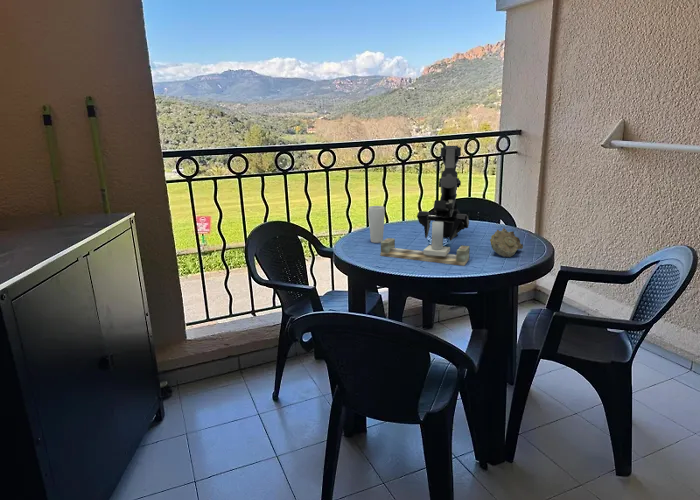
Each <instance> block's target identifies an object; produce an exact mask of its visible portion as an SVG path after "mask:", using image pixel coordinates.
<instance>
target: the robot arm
mask: <svg viewBox="0 0 700 500" xmlns="http://www.w3.org/2000/svg"><path fill="white" fill-rule="evenodd" d="M461 151H462V147H460V146H459V145H443V147H440V157H442V163H443V165H444V170H443V171H442V172H441V175H440V177H439V178H438V179H439V180H438V188H440V194H441V195H440V199H438V200H437V199H436V200H434V201H433V207H432V208H433V210H434V214H435V215H433V214H430V212H429V211H427V210H420V211H418V212H417V215H416V218H417V220H418V223H419V224H420V225H422V227H424V228H423V229H424V238H425V239H427V238H428V237H429V236H428V235H429V233H430V227H431V223H432V222H433V221H442V222H443V238H449V241H452V240H453V239H455V237H458V233H460V232H461V231H462V230H465V229H468V228H469V226H470V219H469V215H468V214H466V213H461V212H460V210H459V209H458V204H457V202H456V199H457V196H458V195H457V190H458V188H460V187H461V186H462V185H461V184H462V182H461V180H460V178H459V177H458V174H459V173H458V171H456V169H455V168H456V166H457V164H458V163H459V161H460V160H459V157H461ZM431 221H432V222H431Z"/></svg>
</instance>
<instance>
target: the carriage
mask: <svg viewBox="0 0 700 500" xmlns="http://www.w3.org/2000/svg"><path fill="white" fill-rule="evenodd" d="M443 245H444V237H443V222H442V221H432V222H431V244H429V245H428V246H426V247H425V248H424V249H423V251H424V254H427V255H436V256H446V255H447V254H450V252H451V247H450V246H443Z"/></svg>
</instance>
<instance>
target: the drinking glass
mask: <svg viewBox="0 0 700 500" xmlns="http://www.w3.org/2000/svg"><path fill="white" fill-rule="evenodd" d="M385 210H386V209H385V206H384V205H371V206H369V207H368V210H367V211H368V214H367V215H368V216H367V217H368V225H369V235H370V238H369V239H370V242H371V243H373V244H381V242H382V241H384V231H385V230H384V228H385V216H386V215H385V213H386V212H385Z"/></svg>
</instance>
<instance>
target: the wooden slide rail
mask: <svg viewBox="0 0 700 500" xmlns="http://www.w3.org/2000/svg"><path fill="white" fill-rule="evenodd" d="M395 242H396V239H395V238H392V237H391V238H390V237H387V238H385V239H383V241H382V242H381V243H380V254H379V255H380V257H387V258H394V259H395V258H397V259H405V260H413V261H419V262H420V261H421V262H428V263H438V264H444V265H445V264H446V265H454V266H461V267H465V265H466V264H467V263H468V262H469V260H470V248H471V247H470V245H460V246H459V248H458V249H456V254H454V253H448V254H447V255H446V256H436V255H427V254H424V250H417V249H407V248H397V247H396V245H395V244H396V243H395Z"/></svg>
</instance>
